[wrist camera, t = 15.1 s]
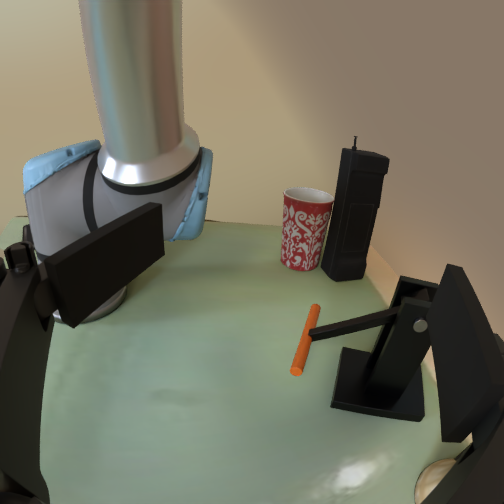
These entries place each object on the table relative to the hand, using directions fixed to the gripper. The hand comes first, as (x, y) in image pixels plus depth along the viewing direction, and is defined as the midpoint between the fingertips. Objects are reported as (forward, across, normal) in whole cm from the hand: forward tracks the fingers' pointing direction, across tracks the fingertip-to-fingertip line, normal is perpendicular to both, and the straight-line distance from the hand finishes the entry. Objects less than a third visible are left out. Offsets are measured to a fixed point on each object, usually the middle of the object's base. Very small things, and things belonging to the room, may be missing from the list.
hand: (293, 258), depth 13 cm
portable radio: (+40, +4, -22) cm, 46 cm away
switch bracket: (+14, +11, -22) cm, 28 cm away
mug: (+42, -4, -22) cm, 48 cm away
